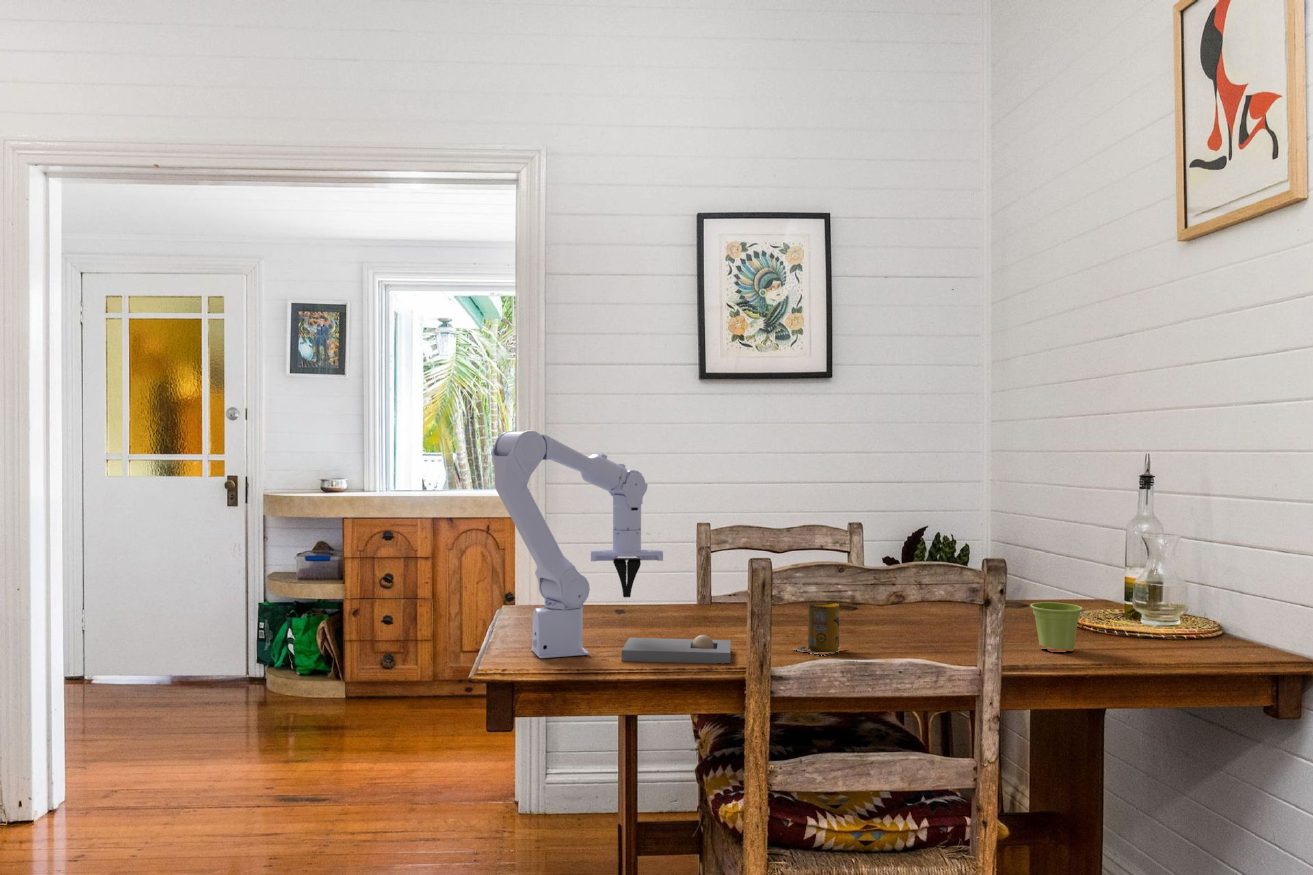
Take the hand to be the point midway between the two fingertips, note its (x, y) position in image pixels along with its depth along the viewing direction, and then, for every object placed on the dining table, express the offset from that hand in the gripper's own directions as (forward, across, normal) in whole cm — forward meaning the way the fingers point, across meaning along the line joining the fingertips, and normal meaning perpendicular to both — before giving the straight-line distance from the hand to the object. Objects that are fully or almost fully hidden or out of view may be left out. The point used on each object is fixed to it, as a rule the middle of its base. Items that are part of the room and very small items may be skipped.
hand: (626, 596), depth 181 cm
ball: (+7, +14, -12) cm, 20 cm away
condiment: (+10, +37, -9) cm, 40 cm away
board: (+9, +9, -12) cm, 17 cm away
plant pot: (+10, +84, -13) cm, 85 cm away
